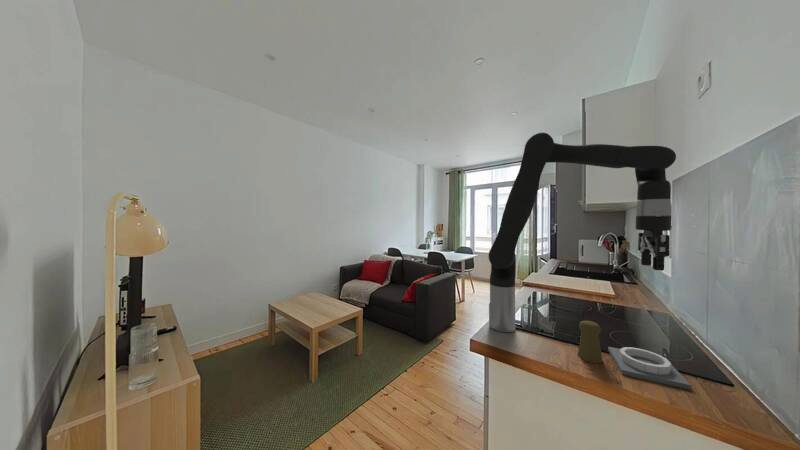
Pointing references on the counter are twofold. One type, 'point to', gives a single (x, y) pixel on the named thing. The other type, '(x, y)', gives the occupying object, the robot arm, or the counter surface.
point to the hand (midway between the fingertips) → (651, 267)
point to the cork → (590, 342)
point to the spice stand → (647, 366)
